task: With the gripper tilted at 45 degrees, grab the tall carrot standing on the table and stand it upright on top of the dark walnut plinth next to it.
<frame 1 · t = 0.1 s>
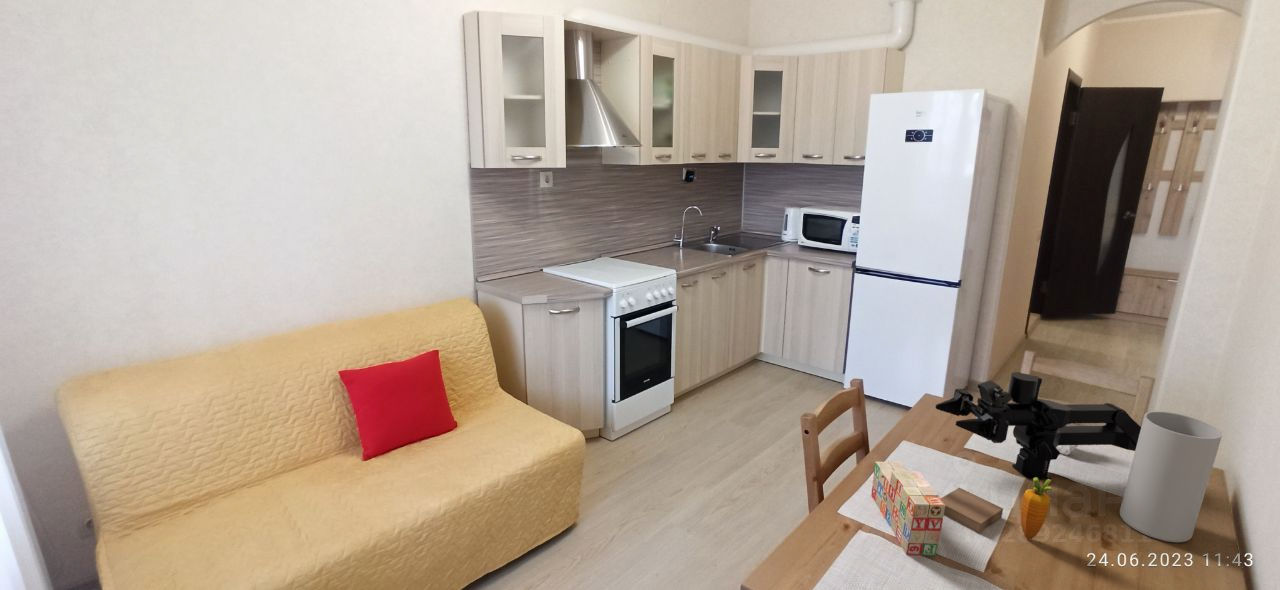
hand: (945, 414, 149), 17 cm above the table, tool horizontal, fingers open, 9 cm apart
bust: (1054, 448, 168), on the table
stack of blocks: (900, 524, 133), on the table
walnut plinth: (967, 514, 137), on the table
carrot: (1027, 540, 128), on the table
cylinder vase: (1153, 526, 134), on the table
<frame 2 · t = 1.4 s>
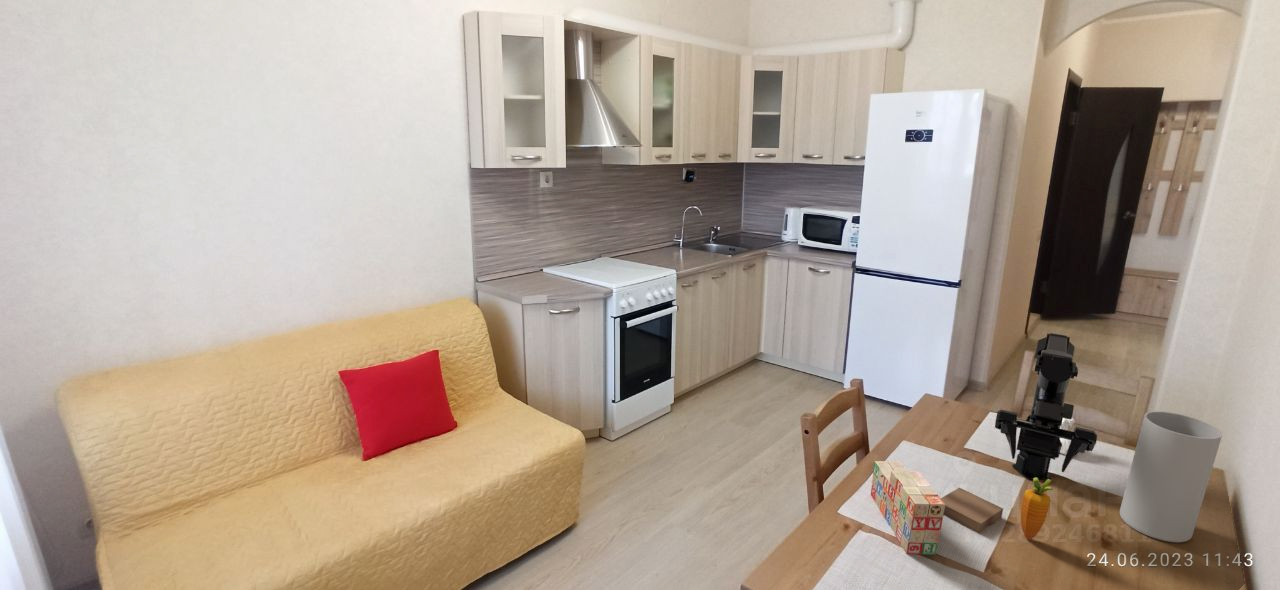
hand: (1037, 464, 132), 14 cm above the table, tool tilted 45°, fingers open, 9 cm apart
nothing on the table moved.
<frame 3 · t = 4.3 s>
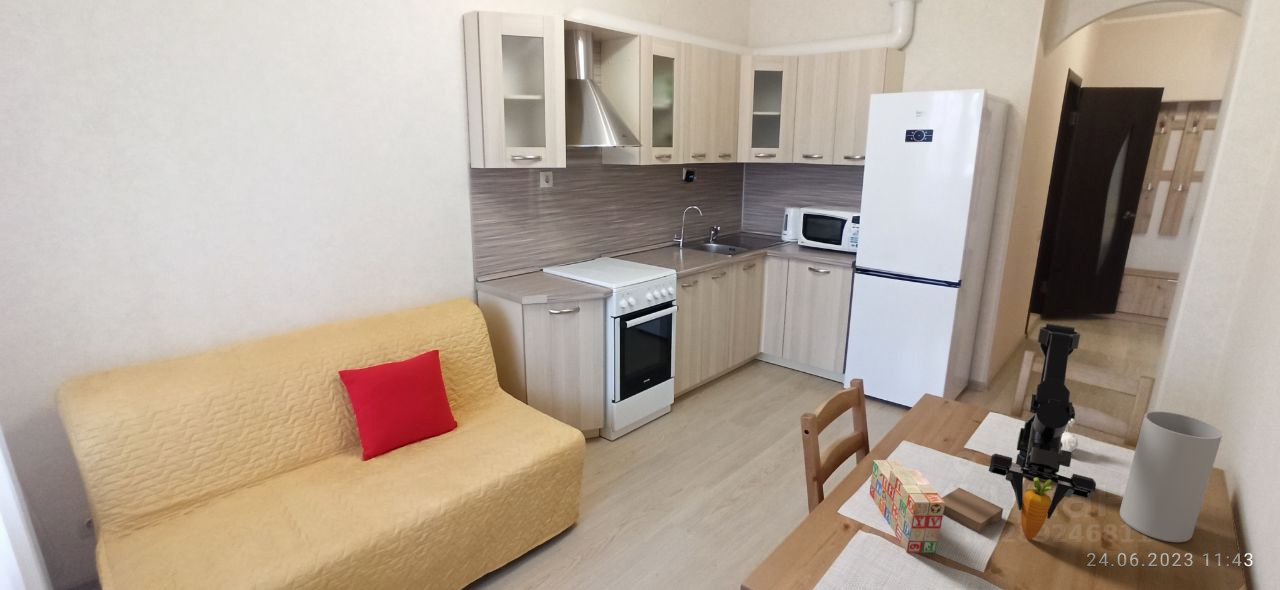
hand: (1034, 513, 125), 7 cm above the table, tool tilted 45°, fingers closed on carrot, 5 cm apart
carrot: (1027, 540, 128), on the table, touching gripper
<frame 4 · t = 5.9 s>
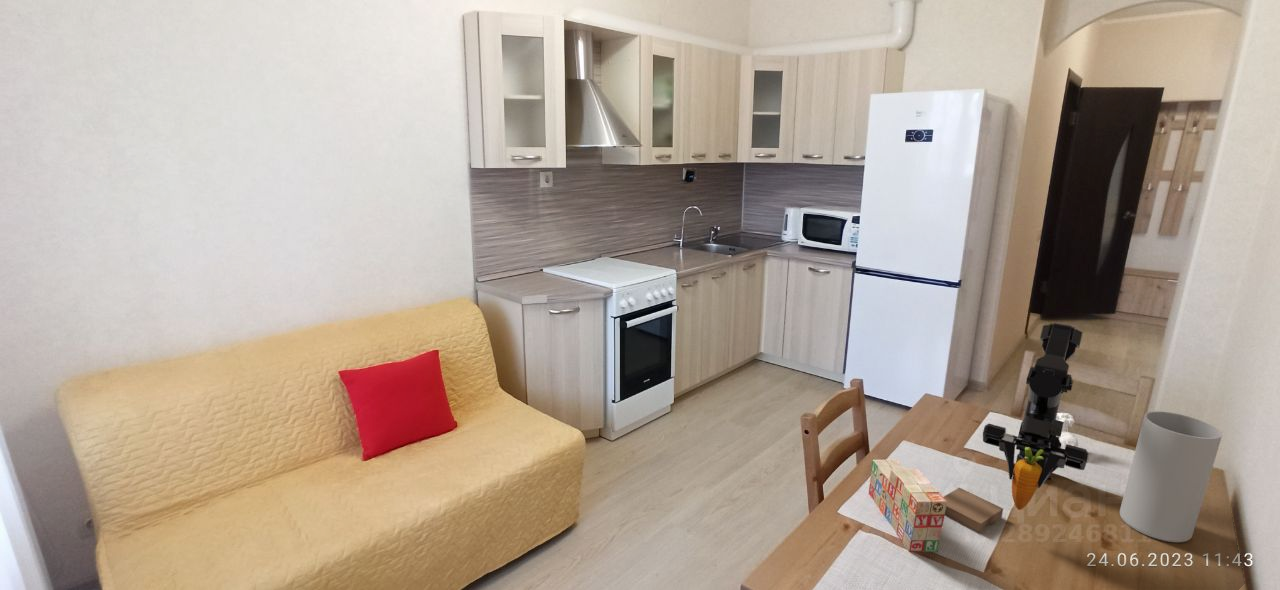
hand: (1024, 483, 125), 13 cm above the table, tool tilted 45°, fingers closed on carrot, 5 cm apart
carrot: (1018, 510, 129), point 6 cm above the table, touching gripper
when the fingers open (10 cm above the table, at t = 7.6 s): carrot stays where it is, resting on walnut plinth.
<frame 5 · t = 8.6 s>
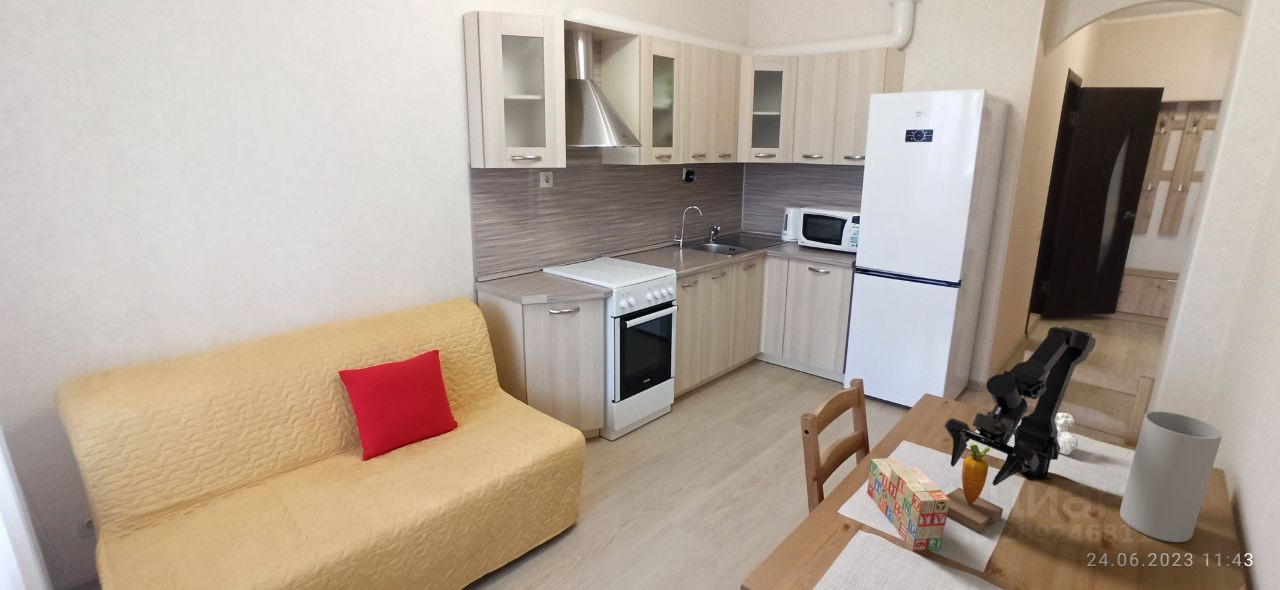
hand: (972, 474, 133), 11 cm above the table, tool tilted 45°, fingers open, 9 cm apart
carrot: (969, 504, 136), point 2 cm above the table, touching walnut plinth
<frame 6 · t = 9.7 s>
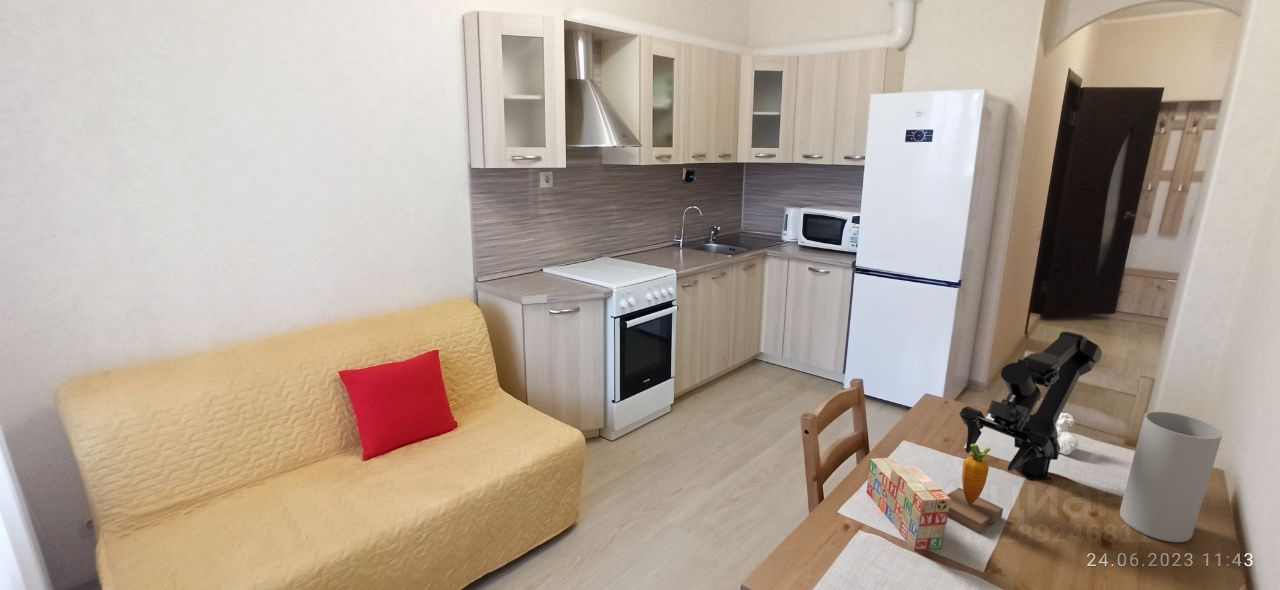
hand: (987, 461, 136), 12 cm above the table, tool tilted 45°, fingers open, 9 cm apart
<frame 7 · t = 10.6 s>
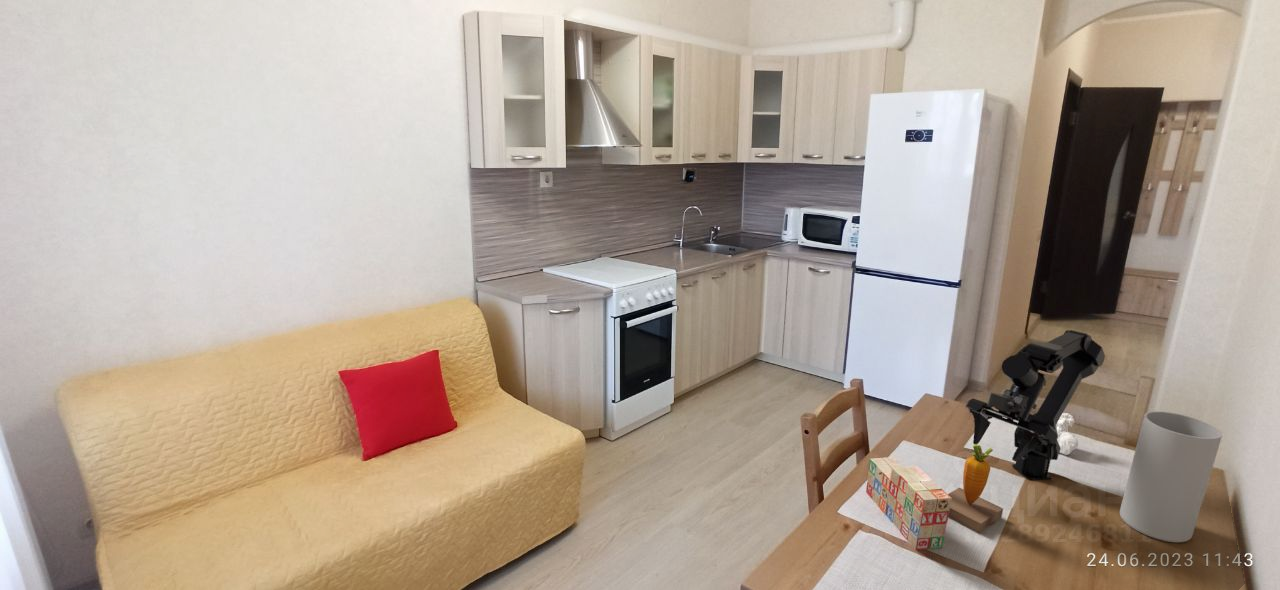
hand: (993, 452, 139), 13 cm above the table, tool tilted 35°, fingers open, 9 cm apart
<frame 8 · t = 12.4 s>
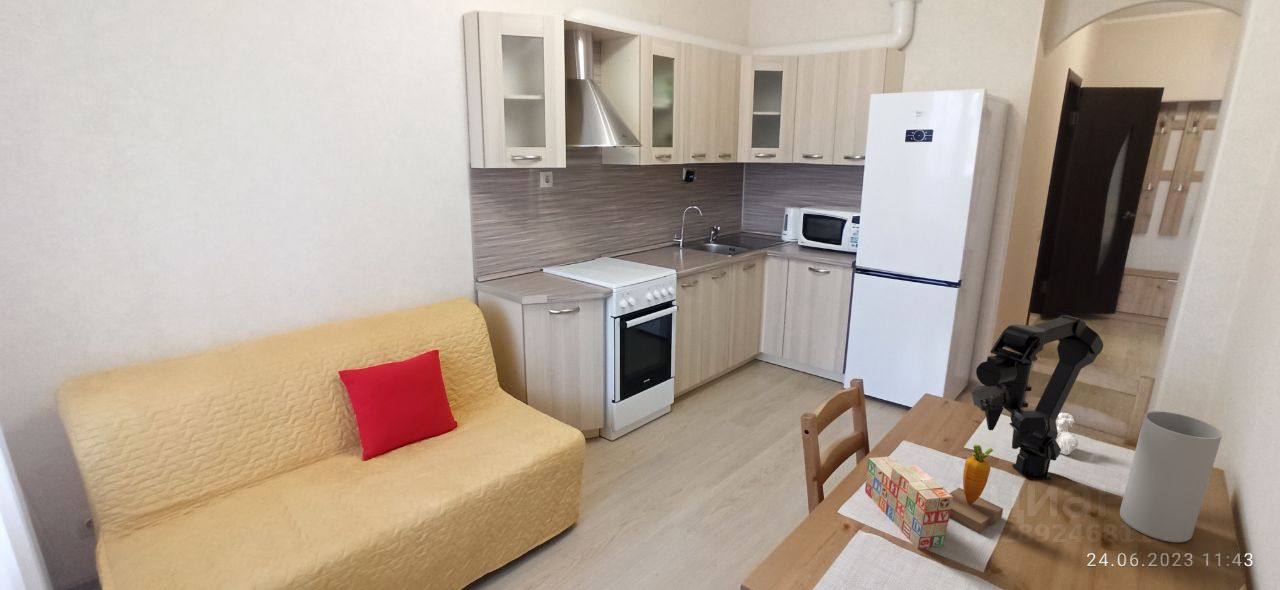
hand: (1002, 439, 145), 13 cm above the table, tool pointing down, fingers open, 9 cm apart
at the end: carrot 0.2 cm off-centre on the walnut plinth, point 2.3 cm above the walnut plinth's base; carrot tilted 1°; the gripper is holding nothing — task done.
